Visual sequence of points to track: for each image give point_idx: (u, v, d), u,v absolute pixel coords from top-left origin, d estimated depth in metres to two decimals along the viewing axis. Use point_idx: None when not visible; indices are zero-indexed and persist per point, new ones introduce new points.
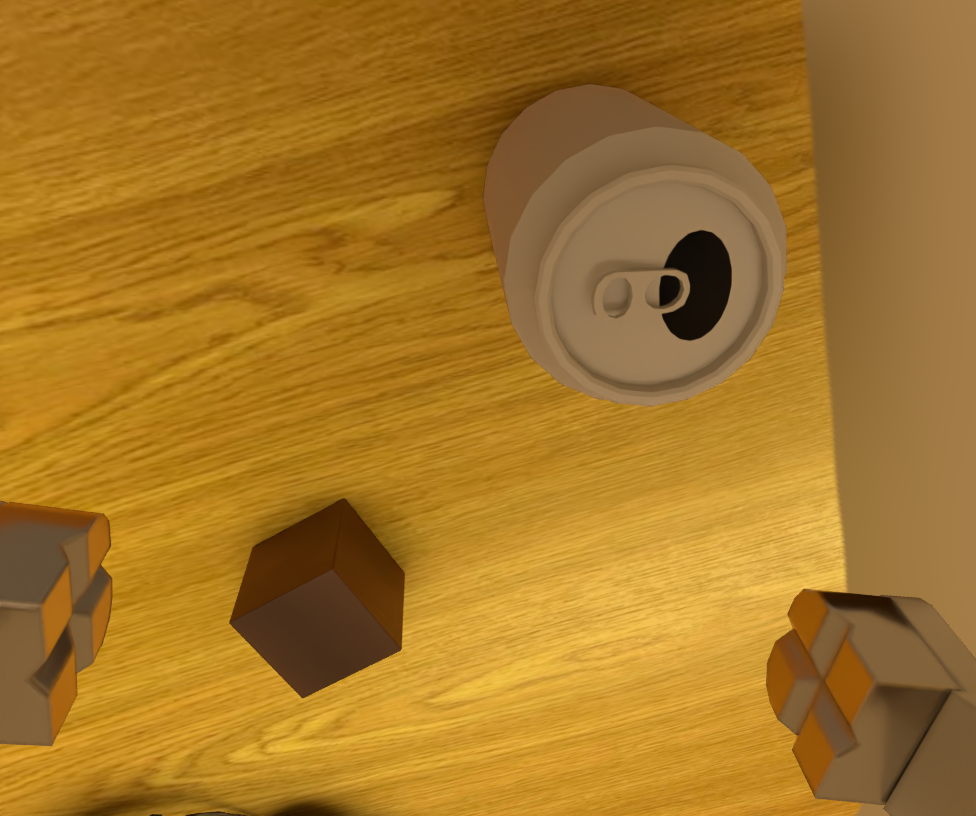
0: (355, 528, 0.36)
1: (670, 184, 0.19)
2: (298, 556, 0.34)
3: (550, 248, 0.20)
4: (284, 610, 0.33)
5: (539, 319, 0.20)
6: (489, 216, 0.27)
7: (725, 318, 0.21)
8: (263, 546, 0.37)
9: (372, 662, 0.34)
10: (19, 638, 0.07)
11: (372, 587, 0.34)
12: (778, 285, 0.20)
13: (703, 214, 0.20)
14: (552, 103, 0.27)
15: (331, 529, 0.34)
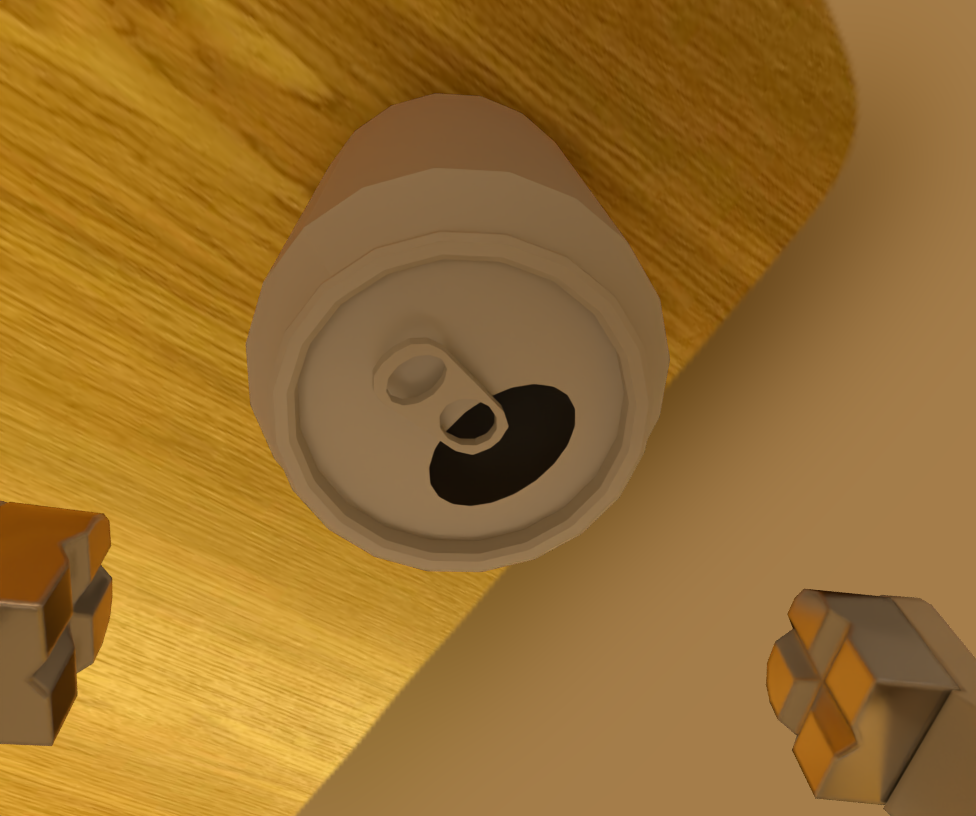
0: None
1: (589, 317, 0.13)
2: None
3: (401, 247, 0.12)
4: None
5: (303, 313, 0.12)
6: (347, 151, 0.19)
7: (496, 506, 0.15)
8: None
9: None
10: (19, 638, 0.07)
11: None
12: (580, 526, 0.14)
13: (586, 382, 0.14)
14: (513, 118, 0.20)
15: None
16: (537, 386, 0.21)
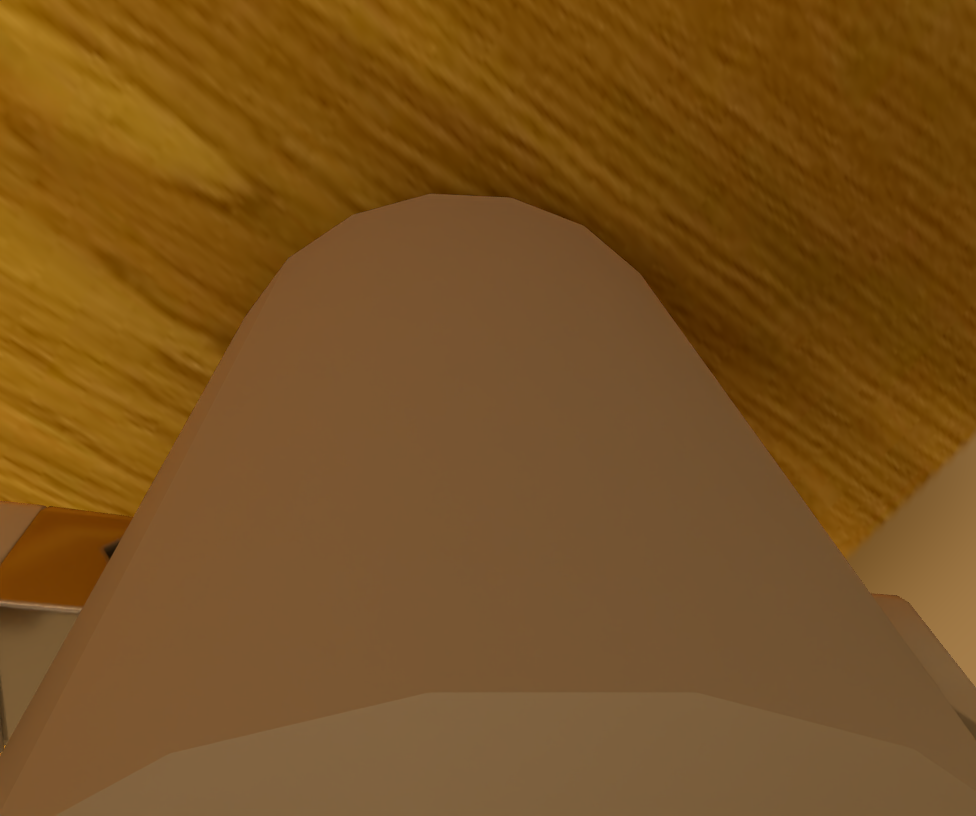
0: None
1: None
2: None
3: None
4: None
5: None
6: (254, 336, 0.09)
7: None
8: None
9: None
10: None
11: None
12: None
13: None
14: (579, 251, 0.11)
15: None
16: None
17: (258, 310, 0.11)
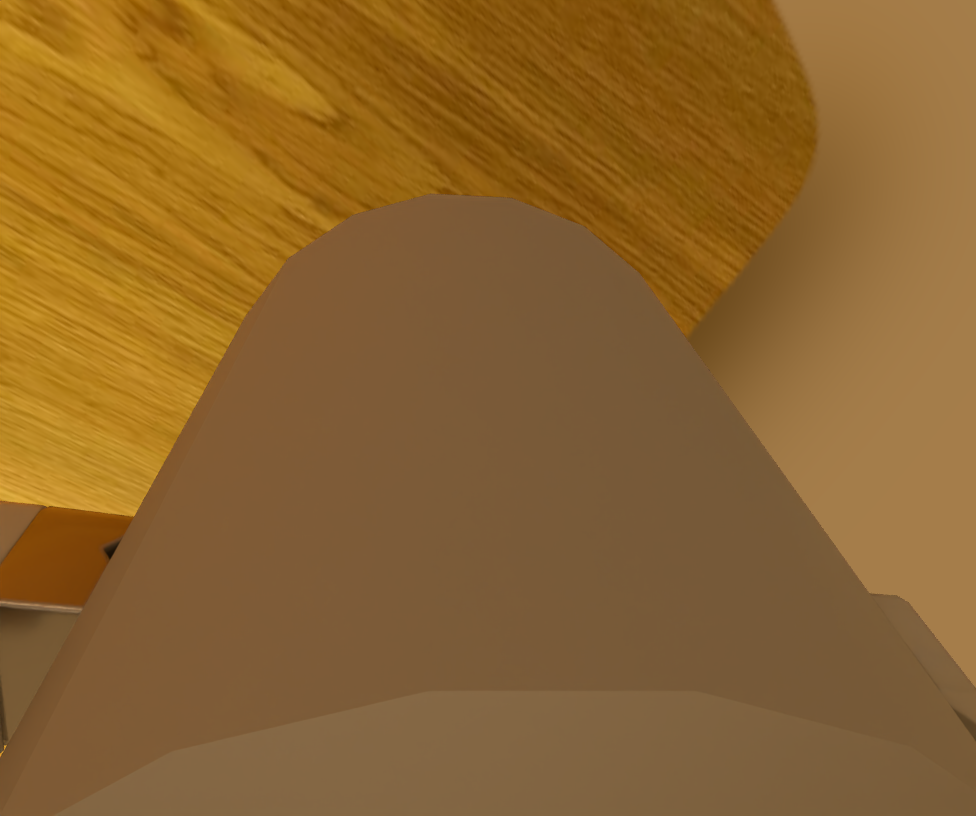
0: None
1: None
2: None
3: None
4: None
5: None
6: (255, 336, 0.09)
7: None
8: None
9: None
10: None
11: None
12: None
13: None
14: (578, 251, 0.11)
15: None
16: None
17: (258, 310, 0.11)
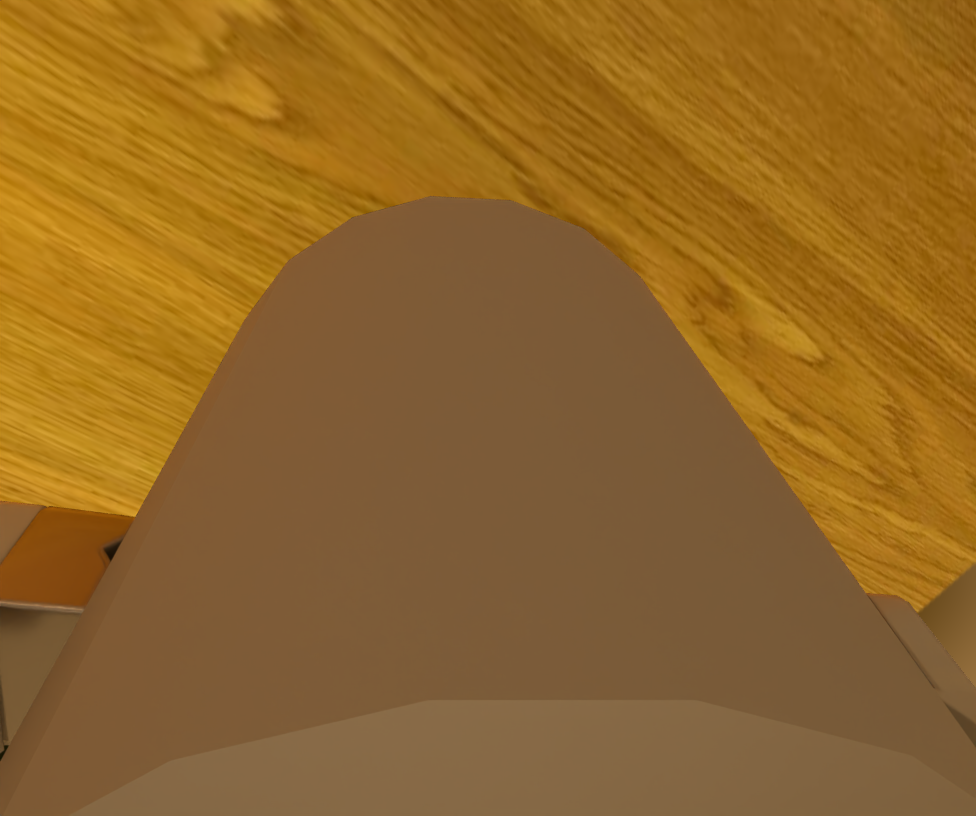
0: None
1: None
2: None
3: None
4: None
5: None
6: (254, 339, 0.09)
7: None
8: None
9: None
10: (64, 642, 0.07)
11: None
12: None
13: None
14: (578, 254, 0.11)
15: None
16: None
17: (258, 313, 0.11)
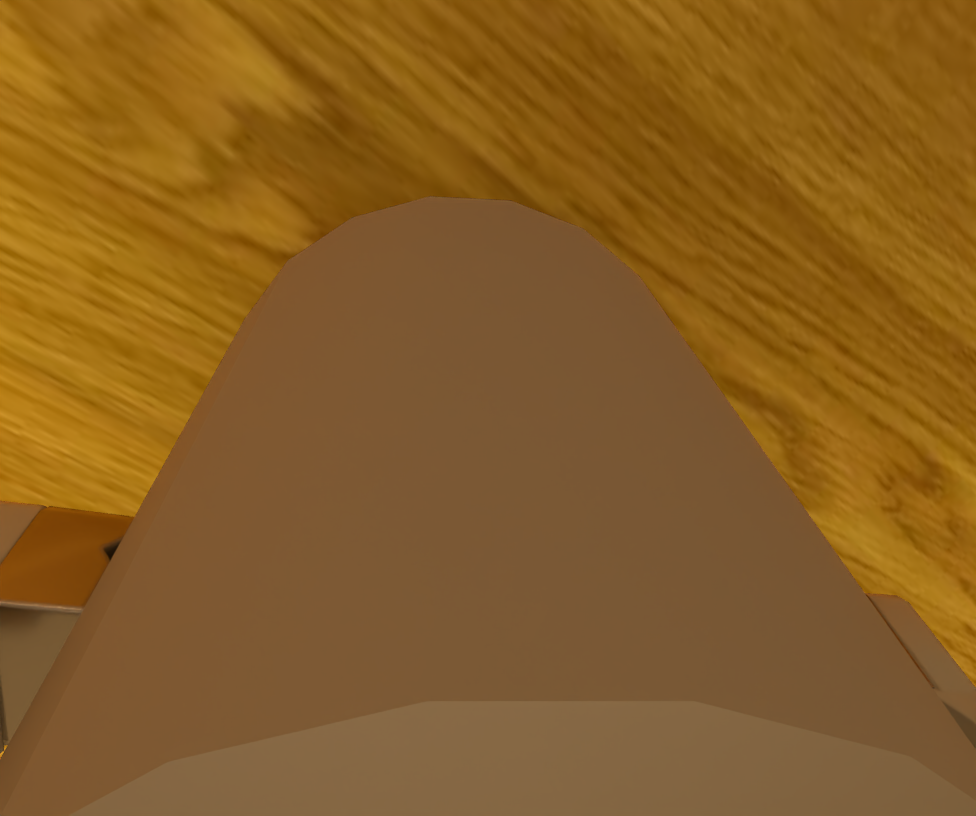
0: None
1: None
2: None
3: None
4: None
5: None
6: (253, 339, 0.09)
7: None
8: None
9: None
10: None
11: None
12: None
13: None
14: (578, 254, 0.11)
15: None
16: None
17: (257, 313, 0.11)
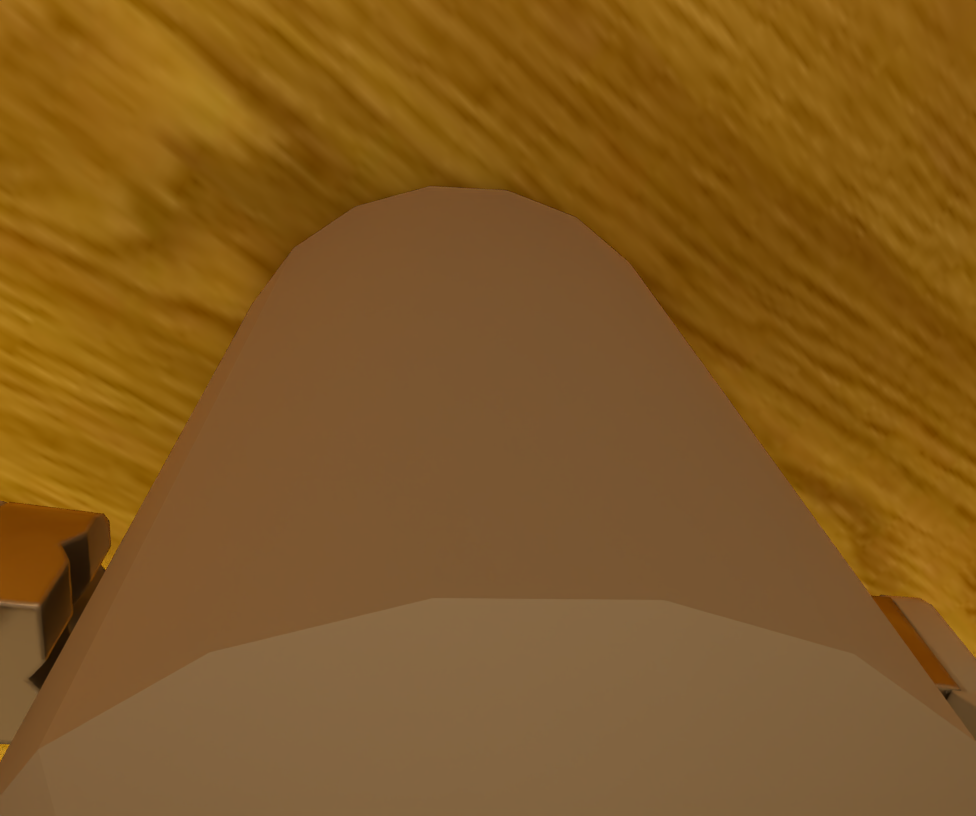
0: None
1: None
2: None
3: None
4: None
5: None
6: (264, 318, 0.10)
7: None
8: None
9: None
10: (18, 638, 0.07)
11: None
12: None
13: None
14: (570, 240, 0.11)
15: None
16: None
17: (266, 296, 0.11)
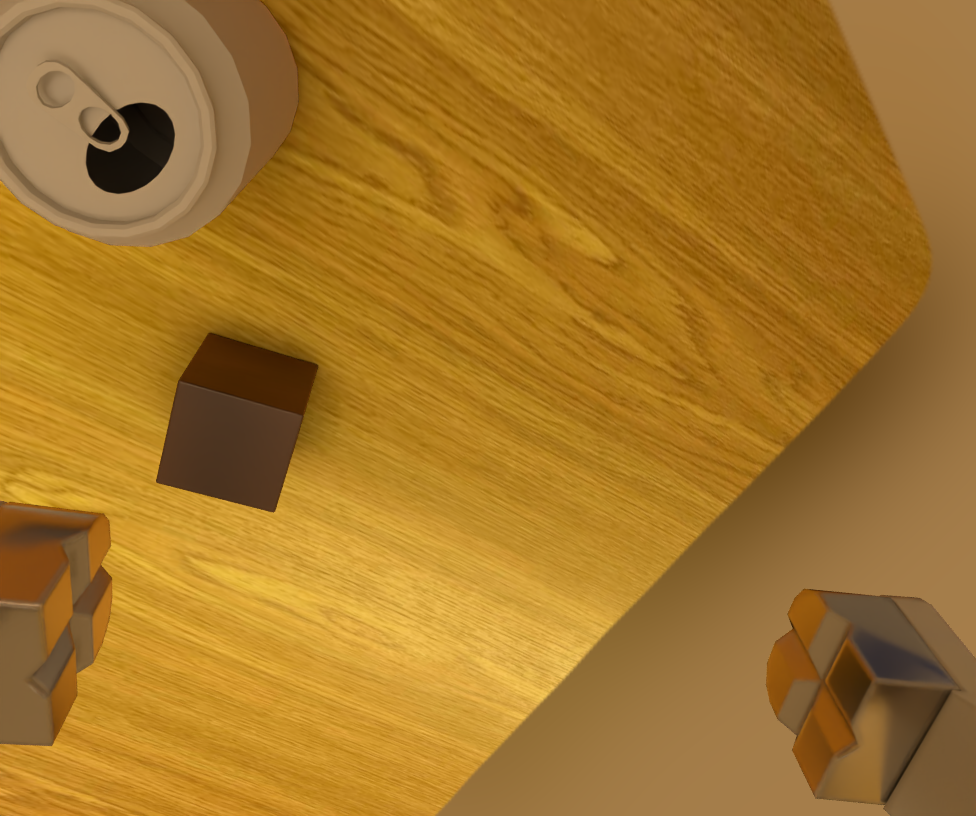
0: None
1: (167, 54, 0.21)
2: (264, 378, 0.35)
3: None
4: (231, 410, 0.33)
5: None
6: None
7: (135, 194, 0.23)
8: (222, 341, 0.36)
9: (242, 502, 0.35)
10: (19, 638, 0.07)
11: None
12: (185, 203, 0.22)
13: (175, 101, 0.22)
14: None
15: (303, 381, 0.36)
16: None
17: None
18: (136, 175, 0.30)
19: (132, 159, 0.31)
